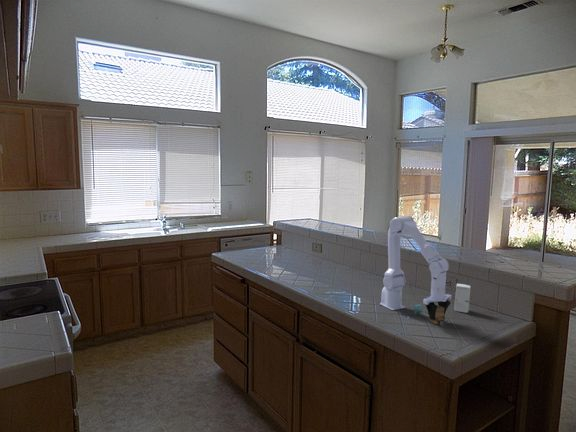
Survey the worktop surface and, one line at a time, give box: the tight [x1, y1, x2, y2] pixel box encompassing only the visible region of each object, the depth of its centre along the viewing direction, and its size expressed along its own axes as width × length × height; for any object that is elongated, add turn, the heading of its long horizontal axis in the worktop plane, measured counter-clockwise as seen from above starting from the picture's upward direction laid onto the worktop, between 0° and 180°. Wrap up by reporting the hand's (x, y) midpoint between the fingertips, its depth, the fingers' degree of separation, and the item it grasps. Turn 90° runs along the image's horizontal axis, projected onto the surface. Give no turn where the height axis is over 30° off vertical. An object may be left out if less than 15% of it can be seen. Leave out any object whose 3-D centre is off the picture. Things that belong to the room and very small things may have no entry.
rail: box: [413, 303, 448, 327], centre depth 169 cm, size 16×3×4 cm, turn 26°
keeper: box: [428, 304, 446, 325], centre depth 166 cm, size 4×5×6 cm
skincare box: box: [453, 283, 472, 314], centre depth 179 cm, size 6×4×12 cm
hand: (436, 317), depth 166 cm, fingers closed on keeper, 5 cm apart
